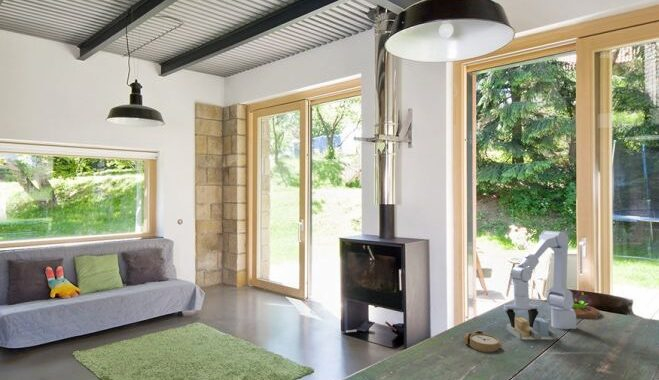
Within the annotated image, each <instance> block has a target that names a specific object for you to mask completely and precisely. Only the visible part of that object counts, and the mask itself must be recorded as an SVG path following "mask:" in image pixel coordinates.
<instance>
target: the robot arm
mask: <svg viewBox="0 0 659 380" xmlns="http://www.w3.org/2000/svg"><path fill="white" fill-rule="evenodd" d="M538 238H539V239H538V242H537V244H536V245H535V247H534V249H533V250H532V251H531V253H527V254H525V255H524V257H523V258H522V260H521V261H520V262H519V264H518V265H517V266H514V267H512V269H511V271H510V273H509V275H510V277H511V279H512V283H513V303H511V304H503V310H504V311H505V313H506V314H507V316H508V320H509V324H511V327H513V328H515V318H516V312H515V311H527V313H528V322H529V326H530V327H531V328H533V324H534V321H535V318H537V317H538V315H539V311H540V310H541V307H540V305H538V304H531V303H529V300H530V299H529V281H531V279H532V276H533V275H532V274H533V271H534V269H535V268H536V267H537V266H538V265H539V263H540V260H539V258H540V257H541V256H542V255H543V254H545V252H546V251H547V250H548V249H549V248H550V249H551V250H552V251H553V253H554V254H553V274H552V275H553V280H552V281H553V283H552V286H551V287H550V288H548V290H547V291H548V292H547V294H546V303H547V305H549V308H550V315H551V317H550V320H551V328H554V329H559V330H571V329H573V330H576V329H577V318H576V314H575V311H574V310H573V309H571V308H572V307H573V304H574V301H573V298H574V296H573V292H572V291H571V290H569V288H568V287H567V283H568V279H567V278H568V251H569V236H568V234H567V233H566V232H564V231H554V230H552V231H551V230H546V229H545V230H543V231H542V232H541V233H540V234H539V236H538Z"/></svg>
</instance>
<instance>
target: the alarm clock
mask: <svg viewBox="0 0 659 380" xmlns="http://www.w3.org/2000/svg"><path fill="white" fill-rule="evenodd" d="M462 339H463V340H464V343H465V344H466V345H468V346H470V347H471V348H473V349H474V350H476V351H480V352H484V353H485V352H486V353H491V352H497V351H498V350H499V349H500V347H503V345H502V344H500V339H499V338H498V337H496V336H494V335H491V334H488V333H484V332H483V331H481V330H476V331H474V332H466V333H464V334H463V337H462Z"/></svg>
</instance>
